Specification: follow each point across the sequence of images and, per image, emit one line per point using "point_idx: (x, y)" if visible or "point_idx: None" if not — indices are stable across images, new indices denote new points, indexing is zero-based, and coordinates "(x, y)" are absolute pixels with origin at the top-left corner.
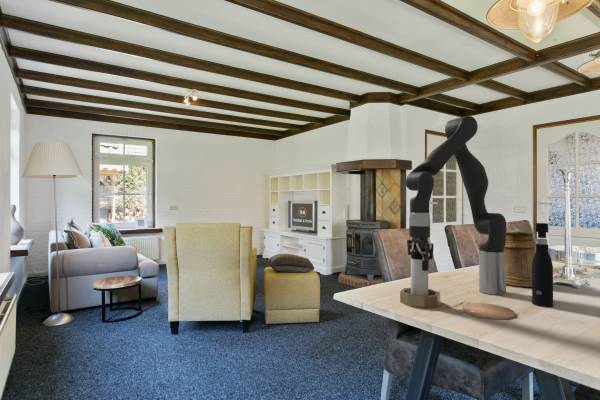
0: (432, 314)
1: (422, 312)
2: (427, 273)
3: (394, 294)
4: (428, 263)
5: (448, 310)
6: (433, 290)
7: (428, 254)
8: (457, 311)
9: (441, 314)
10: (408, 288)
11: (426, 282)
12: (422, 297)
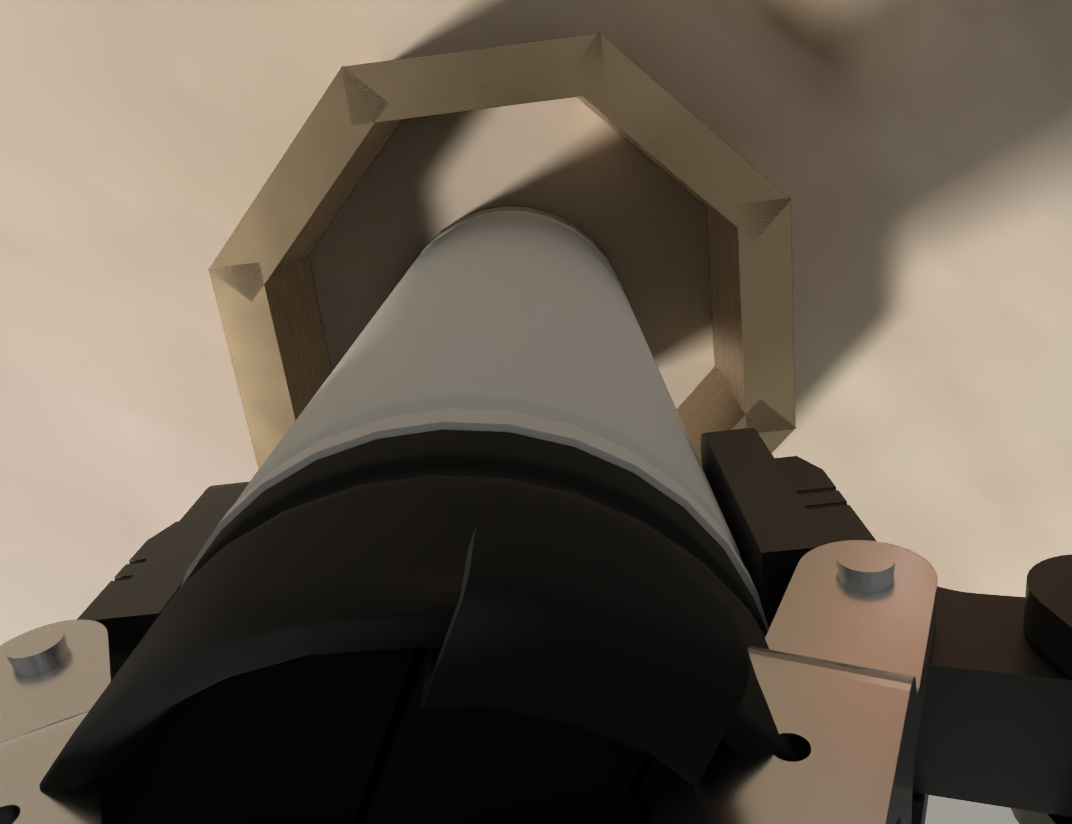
0: (992, 394)
1: (894, 466)
2: (656, 374)
3: (94, 465)
4: (869, 534)
5: (915, 112)
6: (442, 73)
7: (916, 681)
8: (989, 8)
9: (1027, 292)
10: (279, 425)
11: (650, 351)
12: (776, 438)
